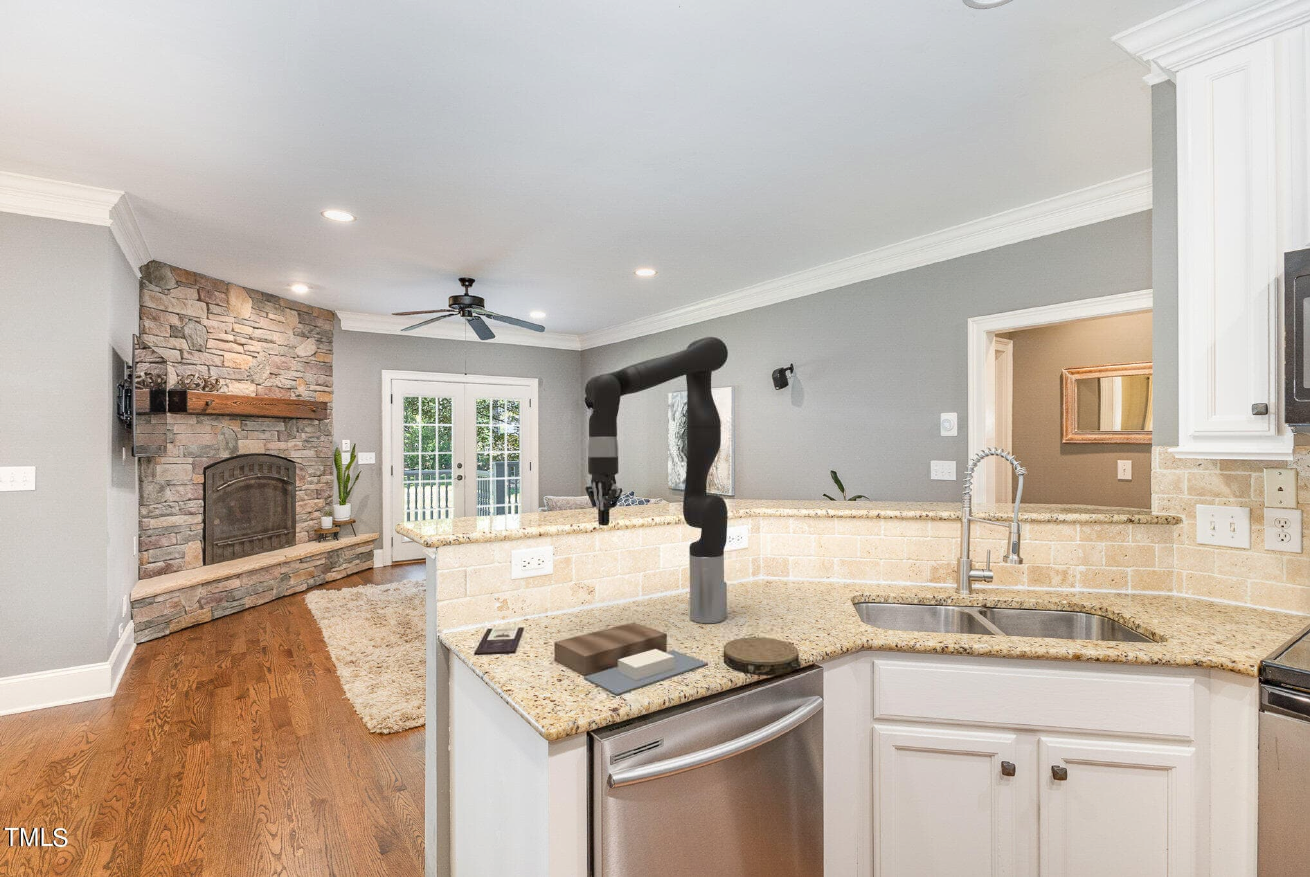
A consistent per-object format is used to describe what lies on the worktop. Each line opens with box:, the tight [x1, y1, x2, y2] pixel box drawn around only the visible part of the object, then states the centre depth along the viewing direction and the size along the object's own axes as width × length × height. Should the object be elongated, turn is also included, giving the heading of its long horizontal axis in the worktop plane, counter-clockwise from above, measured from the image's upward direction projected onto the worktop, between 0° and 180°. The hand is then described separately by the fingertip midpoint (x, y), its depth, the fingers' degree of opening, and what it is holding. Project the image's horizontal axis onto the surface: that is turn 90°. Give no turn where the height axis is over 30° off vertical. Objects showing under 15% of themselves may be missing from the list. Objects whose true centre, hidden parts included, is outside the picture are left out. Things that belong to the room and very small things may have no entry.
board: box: [553, 622, 668, 677], centre depth 135 cm, size 22×12×4 cm, turn 130°
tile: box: [617, 649, 674, 680], centre depth 125 cm, size 10×6×2 cm, turn 129°
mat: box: [583, 649, 709, 697], centre depth 125 cm, size 24×11×1 cm, turn 130°
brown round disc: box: [723, 636, 800, 677], centre depth 130 cm, size 16×16×3 cm
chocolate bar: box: [473, 626, 525, 656], centre depth 145 cm, size 9×1×18 cm
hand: (603, 525), depth 151 cm, fingers closed
